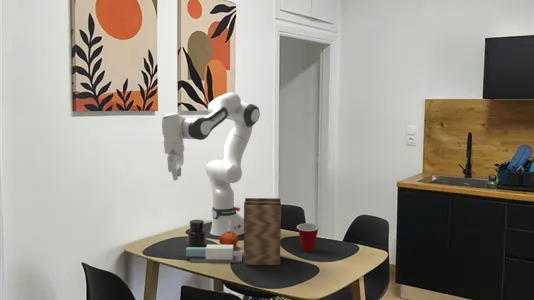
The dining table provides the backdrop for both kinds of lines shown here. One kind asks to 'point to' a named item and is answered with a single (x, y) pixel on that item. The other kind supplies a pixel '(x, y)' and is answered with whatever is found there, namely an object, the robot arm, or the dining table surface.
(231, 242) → the tomato
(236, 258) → the mat
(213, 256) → the block
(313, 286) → the dining table surface
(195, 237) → the ink bottle
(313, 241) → the plastic cup
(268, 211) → the stand
